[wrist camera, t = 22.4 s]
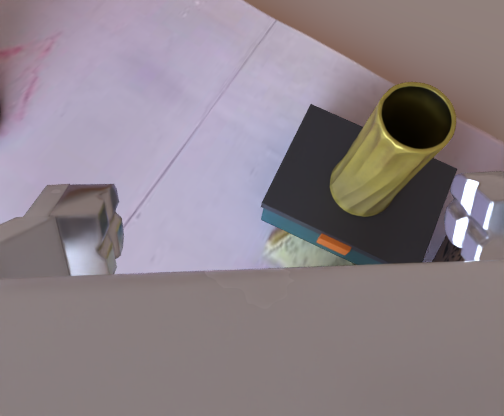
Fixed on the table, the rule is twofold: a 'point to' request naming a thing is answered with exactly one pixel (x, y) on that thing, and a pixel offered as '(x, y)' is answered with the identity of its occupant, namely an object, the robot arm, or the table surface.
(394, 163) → the vase
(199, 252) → the table surface
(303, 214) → the lunchbox
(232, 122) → the table surface
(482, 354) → the robot arm
